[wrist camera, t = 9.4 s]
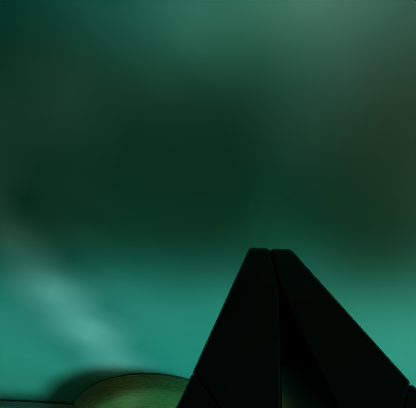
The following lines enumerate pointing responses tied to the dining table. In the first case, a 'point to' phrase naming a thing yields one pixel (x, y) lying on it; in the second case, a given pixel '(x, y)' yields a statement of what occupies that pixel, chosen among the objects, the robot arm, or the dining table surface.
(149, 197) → the dining table surface
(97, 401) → the gold rounded dome
